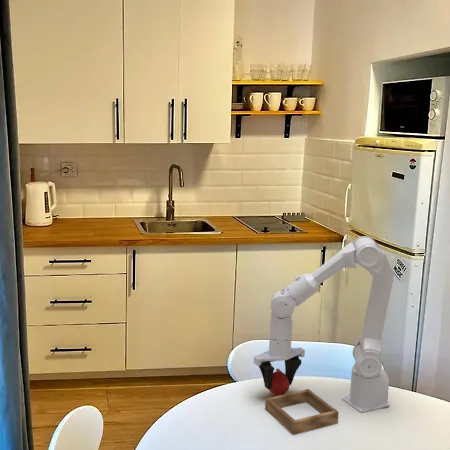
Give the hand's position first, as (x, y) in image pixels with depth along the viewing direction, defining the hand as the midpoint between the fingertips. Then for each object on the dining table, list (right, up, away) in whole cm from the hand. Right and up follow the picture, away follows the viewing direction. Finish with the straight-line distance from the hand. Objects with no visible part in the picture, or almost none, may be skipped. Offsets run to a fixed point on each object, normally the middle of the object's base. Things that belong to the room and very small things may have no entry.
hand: (278, 385), depth 156 cm
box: (+5, -5, -9) cm, 11 cm away
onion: (0, -3, +1) cm, 3 cm away
